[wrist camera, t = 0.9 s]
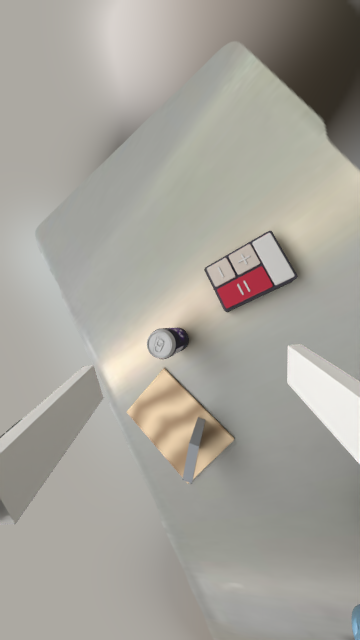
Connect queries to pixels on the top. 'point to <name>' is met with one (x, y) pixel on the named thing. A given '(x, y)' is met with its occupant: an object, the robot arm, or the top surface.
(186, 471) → the slate tile
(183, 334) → the beverage can
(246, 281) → the calculator
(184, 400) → the cork mat
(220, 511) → the top surface
